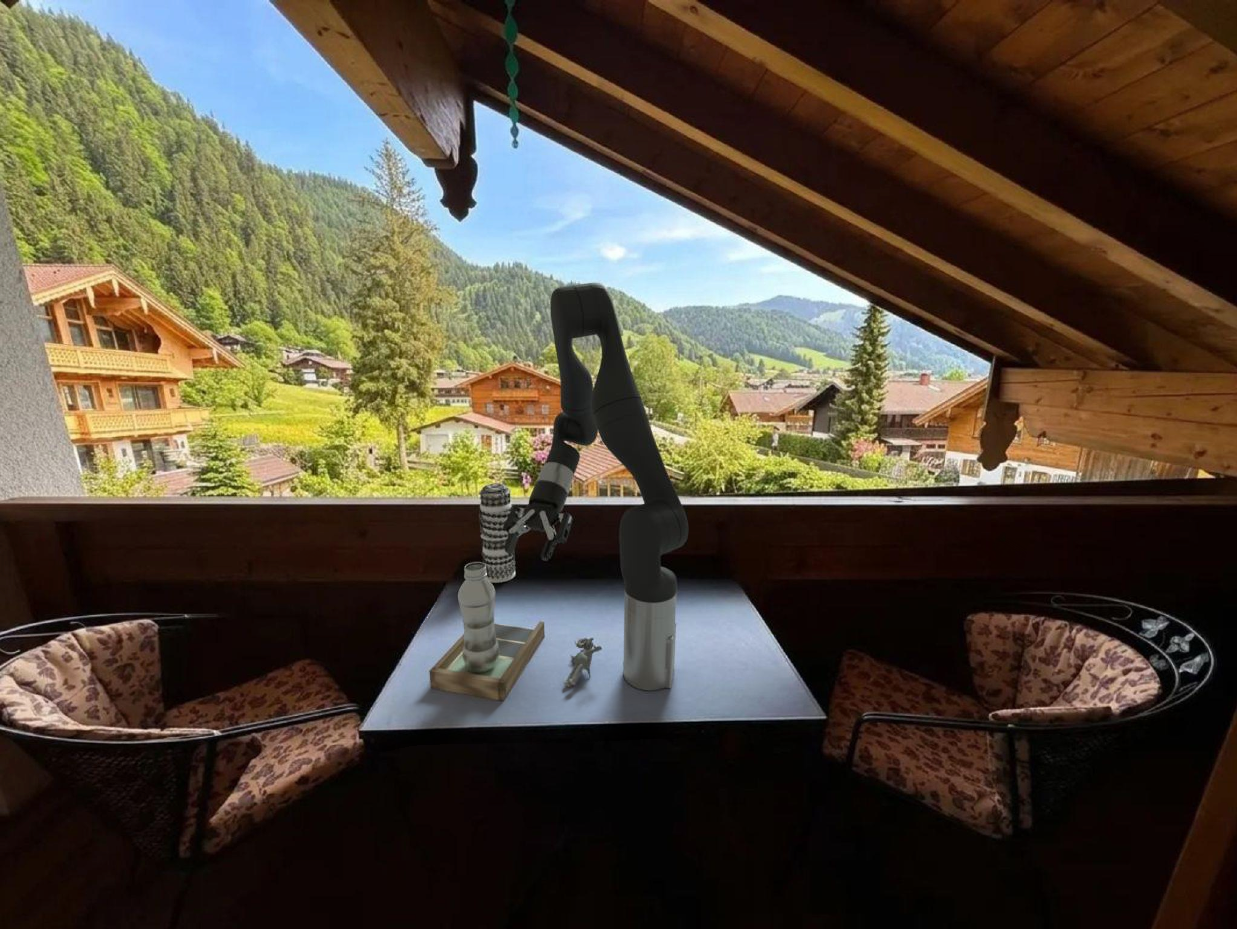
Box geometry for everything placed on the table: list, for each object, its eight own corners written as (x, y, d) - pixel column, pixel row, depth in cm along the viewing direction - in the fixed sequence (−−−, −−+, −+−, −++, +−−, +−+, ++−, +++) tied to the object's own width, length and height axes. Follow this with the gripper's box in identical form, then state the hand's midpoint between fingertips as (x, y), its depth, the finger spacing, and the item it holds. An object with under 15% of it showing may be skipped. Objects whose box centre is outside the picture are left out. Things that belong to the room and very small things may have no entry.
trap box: (544, 636, 97) (544, 621, 96) (503, 701, 78) (502, 683, 78) (483, 628, 99) (482, 613, 99) (430, 687, 81) (429, 670, 81)
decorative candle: (512, 583, 119) (508, 491, 113) (477, 583, 119) (471, 490, 113) (520, 567, 128) (517, 481, 122) (487, 567, 128) (482, 480, 122)
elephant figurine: (543, 679, 84) (566, 639, 91) (567, 699, 85) (588, 658, 92) (572, 668, 78) (594, 626, 85) (597, 690, 78) (618, 646, 85)
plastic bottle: (479, 683, 80) (472, 578, 76) (455, 668, 84) (447, 568, 80) (507, 663, 86) (502, 564, 81) (483, 650, 89) (477, 555, 85)
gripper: (517, 475, 101) (487, 543, 93) (575, 482, 96) (548, 554, 88) (531, 492, 107) (504, 557, 99) (586, 499, 102) (563, 568, 94)
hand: (525, 556), depth 93 cm, fingers open, 8 cm apart
